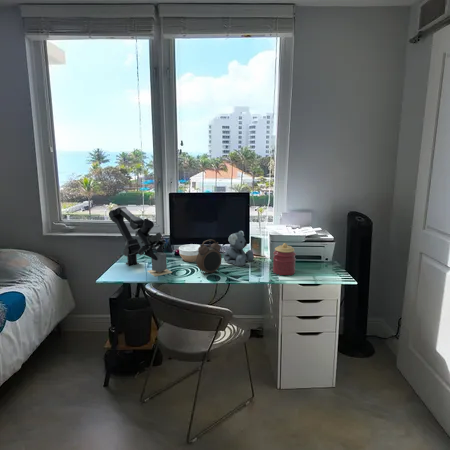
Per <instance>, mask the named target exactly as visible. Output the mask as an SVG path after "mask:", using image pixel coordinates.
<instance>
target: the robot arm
mask: <svg viewBox="0 0 450 450" xmlns="http://www.w3.org/2000/svg"><path fill="white" fill-rule="evenodd" d="M108 216H109V218H110V220H111V221H112V222H113V223H115V224H116V226H117V228H118V230H119V232H120V234H121V236H122V238H123V240H124V242H125V244H124V248H125V249H124V250H123V252H122V253H123V255H124V256H125V257H126V258H127V259H126V260H127V262H125V264H126V265H127V266H128V267H132V266H136V265H139V264H140V263H139V262H138V257H137V256H138V255H139V256H146V257H149V258H150V259H151V258H153V259H154V260H156V261H157V260H158V259H157V257H156V255H155V254H154V253H155V252H154V251H153V249H155V251H156V253H157V252H161V253H165V252H164V249H163V248H164V245H165V244H167V242H166V240H165V239H164V238H163V235H162V234H161V232H157V233H155V235H152V234H150V232H151V231H152V230H153V228H154V225H155V223H154V222H153V221H152V220H150V219H148V218H144V219H143V218H141V217H139V216H136V215H134V214H133V213H132V212H131V211H130V210H129V209H128V208H127V207H126V206H118V207H117V208H115V209H111V210H109V212H108ZM124 219H125V220H126V221H127V222H128V223H129V226H130V228H131V229H132V230H134V231H135V230H136V231H135V237H138V238H139V239H140V241H141V242H140V243H141V244H143V245H142V246H141V245H140V243H139V241H138V238H134V237H133V236H132V234H131V232H130V230H129V228H128V226H127V224H126V222H125V220H124Z"/></svg>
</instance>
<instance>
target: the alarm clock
mask: <svg viewBox="0 0 450 450" xmlns="http://www.w3.org/2000/svg"><path fill="white" fill-rule="evenodd" d="M210 241H211V242H213V243H212V244H208V245H206V244H205V243H207V242H210ZM199 245H200V247H199V248H198V252H199V253H198V255H197V258H196V261H195V263H196V266H197V268H198V269H199V270H201V272H200V273H201V274H202V273H203V272H204V274H203V276H206V274H207V273H208V274H212V273H218V270H219V268H220V266H221V265H222V254H221V253H220V251H221V245H220V244H219V242H218V241H217V242H216V240H215V239H207V240H204V241H203V242H202V244H199Z"/></svg>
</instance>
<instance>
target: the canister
mask: <svg viewBox="0 0 450 450" xmlns="http://www.w3.org/2000/svg"><path fill="white" fill-rule="evenodd" d="M272 254H273V257H272V273H273V274H275V273H276V274H275V275H277V274H279V275H278V276H281V275H290V276H293V275H294V274H295V273H296V261H297V258H296V256H297V253H296V251H295V248H294V247H293V246H291V245H288V244H287V242H284V243H283V244H282V245H281V244H280V245H278V246H276V247H274V251H273V252H272Z"/></svg>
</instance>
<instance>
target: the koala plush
mask: <svg viewBox="0 0 450 450" xmlns="http://www.w3.org/2000/svg"><path fill="white" fill-rule="evenodd" d="M244 236H245V234H244V231H243V230H239V231H238V232H235V233H232V234H230V235H229V237H228V242H229V247H228V249H227V250H226V251H224V253H223V260H224V261H225V262H226V263H227V264H232V265H234V266H236V267H243V266H244V265H246V262H252V261H254V257H255V256H254V251H253V250H252V249H248V250H247V251H246V252H245V250H244V248H246V247H247V246H248V243H247V241H246V238H245V237H244Z"/></svg>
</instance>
